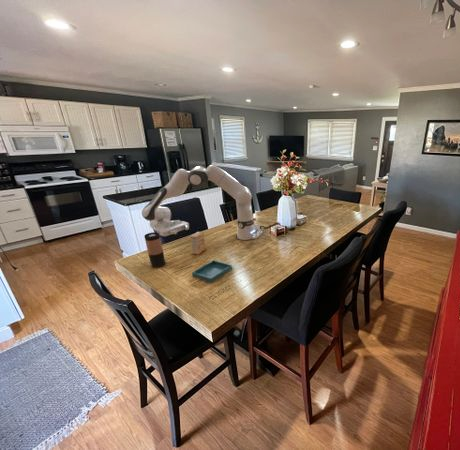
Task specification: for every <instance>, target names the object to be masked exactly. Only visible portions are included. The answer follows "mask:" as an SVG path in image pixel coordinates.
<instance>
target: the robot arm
mask: <svg viewBox="0 0 460 450" xmlns="http://www.w3.org/2000/svg"><path fill="white" fill-rule="evenodd" d="M208 181H211V182H212V183H213V184H215V185H216V186H217V187H219V188H220V189H222V190H223V191H224V192H226V194H228V195H229V196H231V197H232V198H233V199H234V200H235V205H236V214H237V221H236V223H237V226H236V227H237V228H236V230H237V231H236V238H237V239H238V240H241V241H243V240H244V241H247V240H256V239H258V238H259V237H260V236H261V235H262V234H263V233H264V230H263V229H269V228H272V227H273V226H275V225H277V224H278V223H277V222H278V221H276V222H274V223H273V224H271V225H269V226H264V225H261V224H258V223H256V221H257V218H256V217H253V209H252V208H253V207H252V198H253V196H252V193H251V190H250V189H249V187H247V186H245V185H242V184H241V183H240V182H239V181H238V180H236V178H234V177H233V176H232V175H231V174H229V173H228V172H227V171H225V170H224V169H222V168H220V167H219V166H217V165H215V164H210V165H208V166H207V167H205V166H203V165H197V166H194V167H192V168H190V169H189V170H186V169H184V168H179V169H177V170H176V171H175V173H174V174H173V175H172V177H171V178H170V180H169V182H168V183H167V184H165V186H162V187H161V188H160V189H158V191H157V192H156V193H155V194H154V196H153V197H152V198H151V200H150V201H149V203H148V204H146V205H145V206H144V207H143V209H142V211H141V216H142V217H143V219H145V220H146V221H149V227H150V228H151V229H152V230H153V231H155V232H158V233H159V235H160V236H161V237H168V236H171V235H178V233H179V232H181V231H184V230H185V231H188V230H190V223H189V222H187V221H184V220H180V219H175V220H172V215H173V214H172V211H171V209H170V208H169V207H168V206H161V204H162V203H163V202H164V201H166V200H167V199H171V198H177V197H180V196H182V195H183V194H184V193H185V192H186V190H187V188H188V186H190V185H192V186H193V187H200V186H203V185H204V184H206V183H207V182H208ZM301 214H302V212H299V213H298V215H301ZM262 228H263V229H262Z"/></svg>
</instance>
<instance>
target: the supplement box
mask: <svg viewBox="0 0 460 450" xmlns="http://www.w3.org/2000/svg"><path fill="white" fill-rule="evenodd" d="M189 239H190V244H191V252H192V254H193V255H198V256H199V255H201V253H203V252H204V251H206V242H205V236H204V232H202V231H196V232H195V233H193V234H191V235H189Z"/></svg>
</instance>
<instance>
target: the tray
mask: <svg viewBox="0 0 460 450" xmlns="http://www.w3.org/2000/svg"><path fill="white" fill-rule="evenodd" d="M232 269H233V265H232V264H228V263H226V262H222V261H218V260H215V259H213V260H211V261H210V262H207V263H206V264H204V265H203V266H200V267H199V268H197V269H196V270H194V271H192V272H191V275H192V277H193V278H196V279H199V280H202V281H205V282H208V283H213V282H215V281H217V280H218V279H219V278H221V277H223V276H224V275H225V274H227V273H229V272H230V271H231V270H232Z"/></svg>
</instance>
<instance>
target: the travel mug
mask: <svg viewBox="0 0 460 450" xmlns="http://www.w3.org/2000/svg"><path fill="white" fill-rule="evenodd" d="M144 240H145V245H146V250H147V253H148V258H149V262H150V265H151V267H152V268H153V269H156V268H157V269H158V268H162V267H164V266H165V265H166V260H165V254H164V248H163V244H162V239H161V235H160V234H159V233H158V232H157V231H152V232H148V233H146V234H144Z"/></svg>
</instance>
